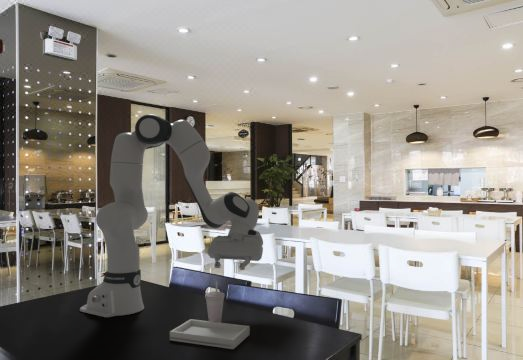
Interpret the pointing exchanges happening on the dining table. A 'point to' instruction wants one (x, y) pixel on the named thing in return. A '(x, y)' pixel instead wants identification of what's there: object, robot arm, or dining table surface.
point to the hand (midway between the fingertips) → (228, 268)
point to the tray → (210, 333)
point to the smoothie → (214, 305)
